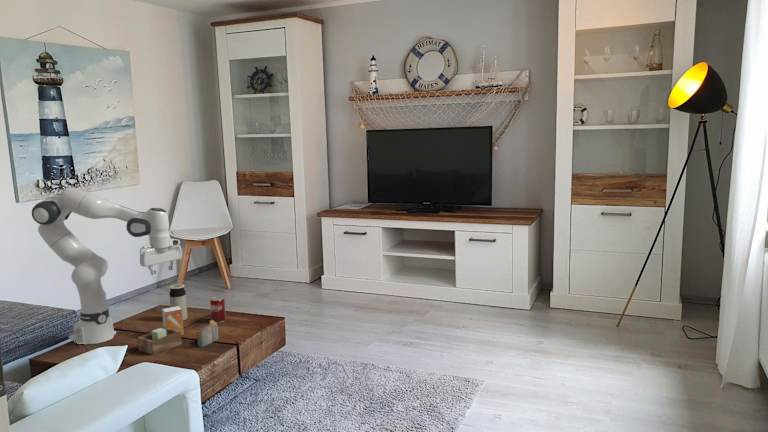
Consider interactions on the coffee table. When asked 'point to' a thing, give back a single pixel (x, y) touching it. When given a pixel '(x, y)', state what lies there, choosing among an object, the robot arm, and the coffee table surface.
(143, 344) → the crate
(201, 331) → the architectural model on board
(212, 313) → the soda can
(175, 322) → the small box
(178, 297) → the travel mug
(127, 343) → the coffee table surface
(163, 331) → the sage block
